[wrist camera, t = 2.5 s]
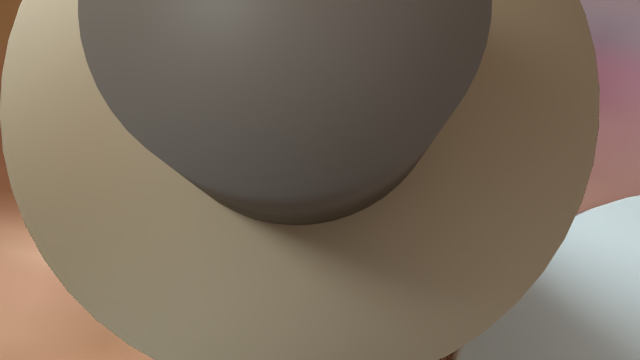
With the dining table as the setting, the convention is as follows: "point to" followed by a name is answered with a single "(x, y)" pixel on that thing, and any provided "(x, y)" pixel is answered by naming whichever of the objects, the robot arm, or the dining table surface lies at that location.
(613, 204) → the plate
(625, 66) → the dining table surface
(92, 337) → the dining table surface
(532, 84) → the beige striped cylinder
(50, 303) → the dining table surface
